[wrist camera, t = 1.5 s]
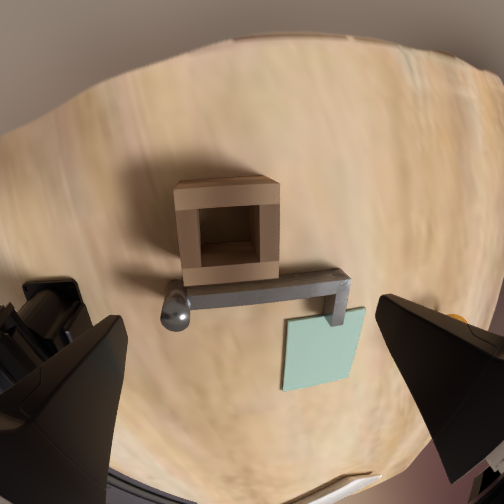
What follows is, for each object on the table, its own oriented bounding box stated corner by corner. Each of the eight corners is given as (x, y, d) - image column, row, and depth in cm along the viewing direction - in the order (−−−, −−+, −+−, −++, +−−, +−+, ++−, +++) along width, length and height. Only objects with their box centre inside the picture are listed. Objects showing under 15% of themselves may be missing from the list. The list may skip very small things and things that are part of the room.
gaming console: (198, 501, 43) (200, 517, 39) (126, 506, 45) (126, 519, 40) (99, 458, 31) (95, 480, 27) (39, 462, 33) (35, 477, 28)
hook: (174, 331, 23) (171, 362, 19) (164, 280, 21) (157, 308, 17) (334, 312, 25) (352, 338, 21) (341, 264, 23) (363, 286, 19)
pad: (282, 389, 28) (283, 391, 28) (287, 320, 24) (288, 321, 24) (346, 375, 29) (347, 377, 29) (364, 307, 25) (366, 308, 25)
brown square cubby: (187, 260, 20) (184, 286, 17) (179, 181, 18) (173, 189, 15) (265, 254, 21) (278, 277, 18) (265, 176, 19) (279, 183, 15)
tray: (380, 467, 53) (384, 476, 49) (303, 507, 59) (305, 515, 56) (349, 470, 47) (354, 480, 44) (266, 510, 53) (268, 518, 50)
